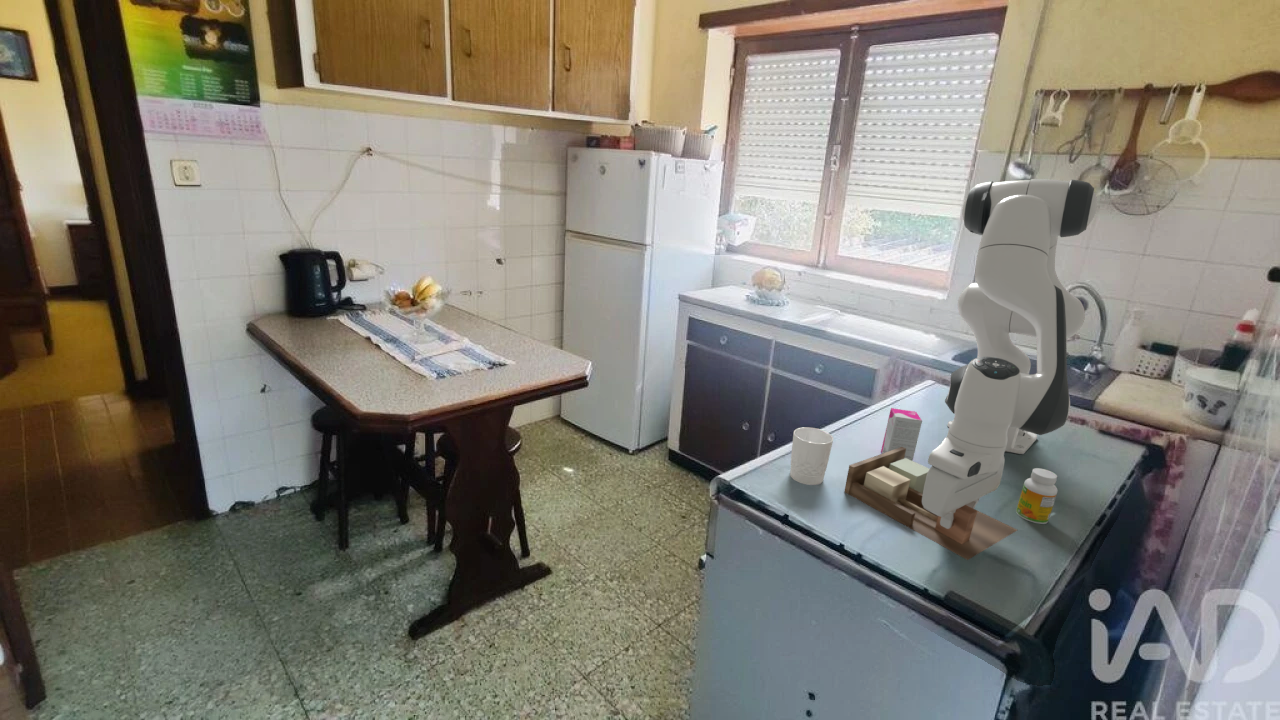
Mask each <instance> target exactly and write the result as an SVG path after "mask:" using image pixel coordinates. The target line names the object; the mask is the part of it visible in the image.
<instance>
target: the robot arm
mask: <svg viewBox="0 0 1280 720" xmlns="http://www.w3.org/2000/svg"><path fill="white" fill-rule="evenodd" d="M1097 211H1098V198H1097V194H1096V193H1095V187H1094V186H1093V185H1092V184H1091V183H1090V182H1087V181H1084V180H1080V179H1078V180H1077V179H1070V180H1063V179H1062V180H1061V179H1060V180H1059V179H1048V178H1031V179H1021V180H1020V179H1019V180H1018V179H1017V180H1005V181H999V182H998V181H997V182H994V181H993V180H992V181H986V182H981V183H978V184H976V185H975V186H973V187H972V188H971V189H970V190H969V192H968V194H967V196H966V197H965V200H964V201H963V205H962V210H961V213H962V220H963V225H964V227H965V228H966V229H967V230H968V231H969V232H970V233H972V234H974V235H979V236H981V238H980V243H979V247H978V251H977V255H976V261H975V268H974V269H975V270H974V280H975V282H972V283H970V284H969V285H968V286H966V287H965V288H964V289H963V290H962V292H961V293H960V295H959V297H958V300H957V310H958V314H959V315H960V318H961V319H962V320H963V321H964V323H966V324H967V326H968V327H969V328H970V330H971V331H972V334H973V336H974V338H975V341H976V345H977V357H976V358H973V359H971V361H969V363H968V364H965V365H963V366H961V367H959V368H958V369H956V370H954V371H953V372H952V373H951V375H950V384H949V389H948V393H947V394H946V398H945V400H944V403H945V404H946V405H947V407H948V409H949V410H950V411H951V413H953V414H954V418H953V420H950V421H948V422H947V424H946V426H947V427H948V432H947V435H946V437H944V439H943V440H942V442H941V443H939V445H938V446H937V447H936V448H935V449H933V450H932V451H931V452H930V453H929V455H928V458H927V464H929V465H930V467H929V471H928V473H927V476H926V480H925V485H924V490H923V495H922V505H923V507H924V509H926V510H928V511H930V512H931V513H933V514H935V515H937V516H940V517H941V520H940V525H941V526H943V527H945V528H947V529H949V528H951V527H953V526H954V523H955V518H953V513H955V512H956V509H958V508H960V507H962V506H964V505H967V506H969V507H971V508H973V509H975V508H976V506H977V504H978V503H979V502H980V498H982V497H984V496H987V495H989V494H990V493H992V492H995V491H996V490H998V487H999V486H1000V485H1001V482H1002V479H1003V478H1002V477H1003V473H1004V467H1005V461H1006V460H1005V456H1004V455H1005V452H1007V453H1014V454H1019V455H1024V454H1025V453H1026V452H1027V451H1028V450H1029V448H1030V447H1031V446H1033V444H1034V443H1035V442H1036V441H1037V439H1038V435H1039V436H1043V435H1047V434H1049V433H1052V432H1054V431H1056V430H1058V429H1060V428H1063V426H1064V425H1065V424H1066V422H1067V420H1068V417H1069V414H1070V410H1071V397H1070V393H1069V390H1070V389H1069V383H1068V370H1067V369H1068V367H1067V366H1068V364H1067V363H1068V362H1067V361H1068V358H1067V357H1068V356H1067V355H1068V354H1067V353H1068V352H1067V340H1068V339H1069V338H1071V337H1073V336H1075V335H1076V334H1077V333H1078V332H1079V331H1080V330H1081V328H1082V327H1083V324H1084V323H1085V322H1084V321H1085V316H1086V311H1085V307H1084V305H1083V303H1082V301H1081V300H1080V299H1079V298H1077V297H1076V296H1074V295H1073V294H1072V293H1071V292H1069V290H1067V289H1066V288H1065V286H1064V285H1063V284H1062V282H1061V281H1060V279H1059V276H1057V272H1056V253H1057V244H1058V239H1059V237H1060V238H1067V237H1074V236H1078V235H1080V234H1082V233H1083V232H1085V231H1086V230H1087V229H1088V228H1087V227H1088V226H1089V225H1091V223H1092V221H1093V220H1094V218H1095V216H1096V214H1097ZM1010 333H1011V334H1017V335H1022V336H1026V337H1032V338H1036V373H1034V374H1030V370H1031V367H1032V366H1031V365H1032V363H1031V360H1030V358H1029V355H1027V354H1026V352H1025V351H1023V350H1022V349H1021V348H1019V347H1018V346H1016V345H1015V344H1014V343H1013V342H1012V340H1011V338H1010Z"/></svg>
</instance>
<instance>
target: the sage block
mask: <svg viewBox="0 0 1280 720" xmlns="http://www.w3.org/2000/svg"><path fill="white" fill-rule="evenodd" d="M889 469H890V470H892V471H894V472H896V473H898V474H900V475H902V476H904V477H906V478H908V479H910V484H909V487H910V488H912V489H914V490H916V491H918V492H920V493H922V494H923V490H924V485H925V480H926V476H927V473H928V471H929V469H930V467H929V468H928V467H927V466H924V465H922V464H921V463H918V462H916V461H914V460H913V461H911V460H909V459H907V458H904V459H902V460H899V461H896V462H894V463H891V464H890V466H889Z"/></svg>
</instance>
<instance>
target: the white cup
mask: <svg viewBox="0 0 1280 720" xmlns="http://www.w3.org/2000/svg"><path fill="white" fill-rule="evenodd" d="M833 443H834V437H833V435H832V434H831V433H829V432H827V431H825V430H823V429H819V428H815V427H808V426H807V427H798V428H796V429H795V430H793V435H792V444H791V454H790V455H791V456H790V471H789V472H790V473H789V475H790V477H791V478H792V479H793V480H794V481H796V482H797V483H800V484H802V485H808V486H809V485H810V486H817V485H821V484H822V483H823V482H824V479H825V474H826V472H827V471H826V470H827V468H828V464H829V461H830V456H831V451H832V447H833Z"/></svg>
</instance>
